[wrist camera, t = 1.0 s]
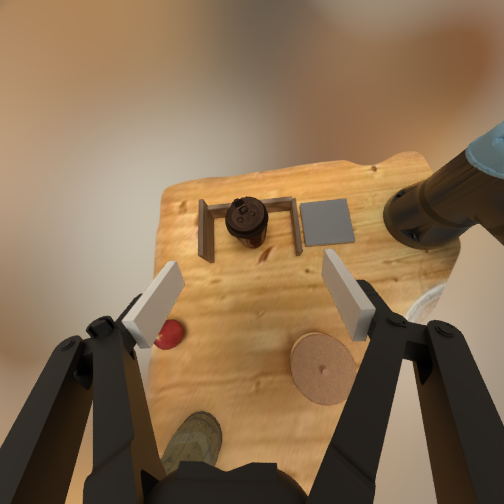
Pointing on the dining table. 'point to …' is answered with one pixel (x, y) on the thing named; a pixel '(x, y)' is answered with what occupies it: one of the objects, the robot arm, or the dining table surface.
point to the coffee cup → (247, 221)
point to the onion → (169, 335)
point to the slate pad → (326, 223)
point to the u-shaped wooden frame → (220, 211)
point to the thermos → (194, 442)
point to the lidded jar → (322, 368)
